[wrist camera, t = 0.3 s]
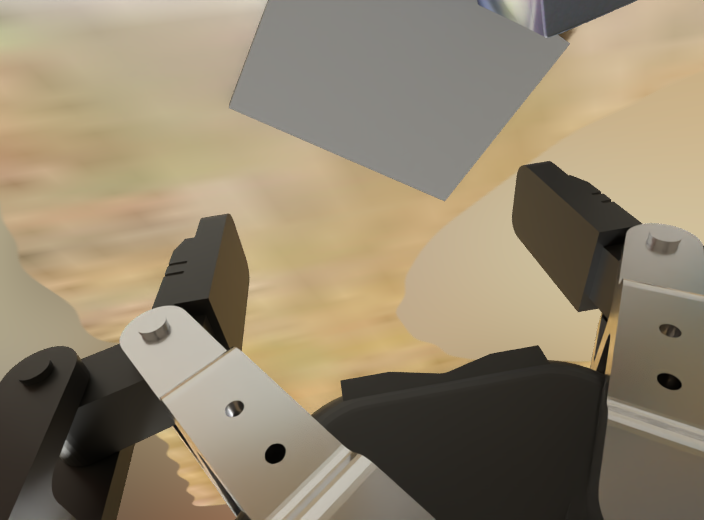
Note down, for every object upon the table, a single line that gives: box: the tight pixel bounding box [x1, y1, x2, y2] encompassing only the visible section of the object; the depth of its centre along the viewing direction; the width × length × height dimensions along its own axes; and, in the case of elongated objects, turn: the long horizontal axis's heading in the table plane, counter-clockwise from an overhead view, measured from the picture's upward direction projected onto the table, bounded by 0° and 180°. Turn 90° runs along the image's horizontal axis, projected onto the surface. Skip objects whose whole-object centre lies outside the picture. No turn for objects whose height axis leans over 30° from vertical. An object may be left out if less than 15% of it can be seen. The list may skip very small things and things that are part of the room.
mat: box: [229, 0, 570, 201], centre depth 31 cm, size 15×20×1 cm
